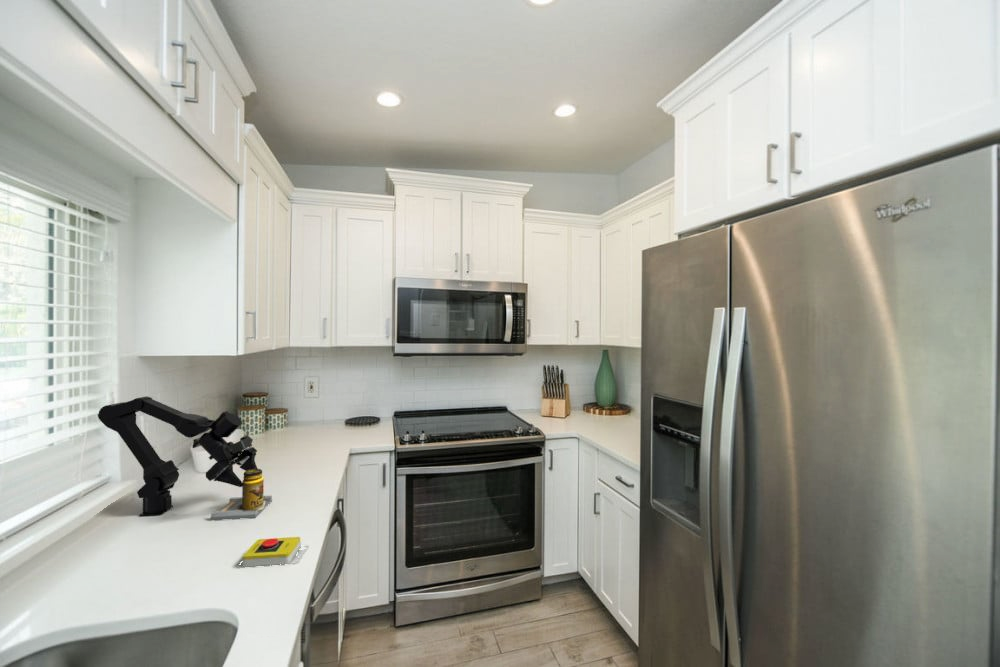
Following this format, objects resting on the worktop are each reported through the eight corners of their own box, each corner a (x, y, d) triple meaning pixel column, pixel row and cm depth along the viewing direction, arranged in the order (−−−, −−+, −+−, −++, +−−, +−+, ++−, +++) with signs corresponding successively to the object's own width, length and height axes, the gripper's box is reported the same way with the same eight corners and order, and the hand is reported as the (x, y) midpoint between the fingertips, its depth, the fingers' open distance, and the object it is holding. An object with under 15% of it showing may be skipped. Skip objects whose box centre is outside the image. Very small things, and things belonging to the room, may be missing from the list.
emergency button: (251, 534, 112) (310, 531, 114) (251, 550, 112) (310, 547, 114) (234, 552, 102) (298, 548, 104) (234, 570, 102) (298, 566, 104)
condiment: (263, 509, 134) (263, 472, 134) (232, 514, 131) (232, 476, 131) (265, 501, 141) (265, 466, 141) (236, 505, 137) (236, 469, 137)
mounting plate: (210, 520, 128) (210, 516, 128) (231, 503, 141) (231, 500, 141) (255, 518, 130) (255, 514, 130) (272, 501, 143) (272, 497, 143)
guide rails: (211, 517, 129) (211, 513, 129) (231, 501, 141) (231, 497, 141) (255, 514, 130) (255, 510, 130) (271, 498, 143) (271, 495, 143)
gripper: (215, 437, 127) (251, 473, 127) (251, 423, 145) (283, 455, 145) (189, 462, 127) (225, 498, 127) (229, 446, 145) (260, 477, 145)
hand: (250, 480), depth 136 cm, fingers open, 9 cm apart
